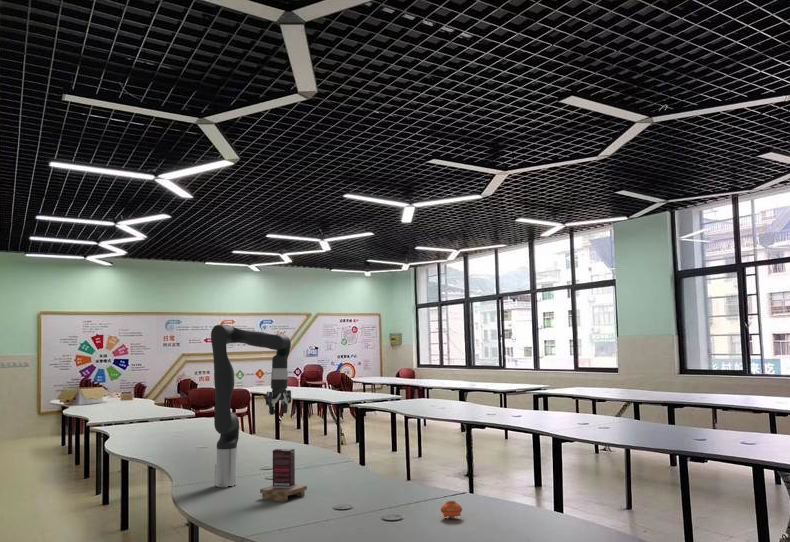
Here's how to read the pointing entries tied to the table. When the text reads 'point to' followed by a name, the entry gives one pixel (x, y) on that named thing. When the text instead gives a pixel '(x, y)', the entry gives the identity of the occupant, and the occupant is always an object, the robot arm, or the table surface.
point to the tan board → (282, 492)
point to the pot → (451, 509)
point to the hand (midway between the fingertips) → (278, 413)
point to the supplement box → (284, 468)
